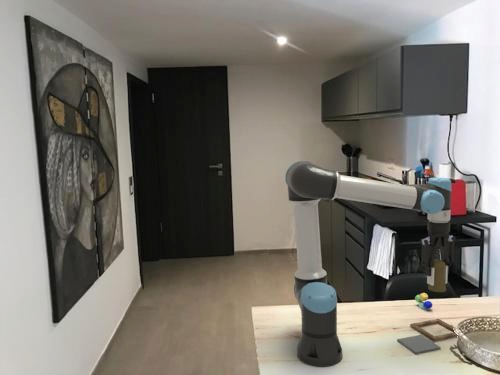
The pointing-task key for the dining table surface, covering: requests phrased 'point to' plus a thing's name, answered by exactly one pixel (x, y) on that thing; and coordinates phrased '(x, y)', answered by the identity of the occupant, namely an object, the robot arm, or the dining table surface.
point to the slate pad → (418, 344)
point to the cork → (438, 276)
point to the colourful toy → (422, 298)
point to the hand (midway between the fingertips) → (437, 283)
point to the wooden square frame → (433, 338)
